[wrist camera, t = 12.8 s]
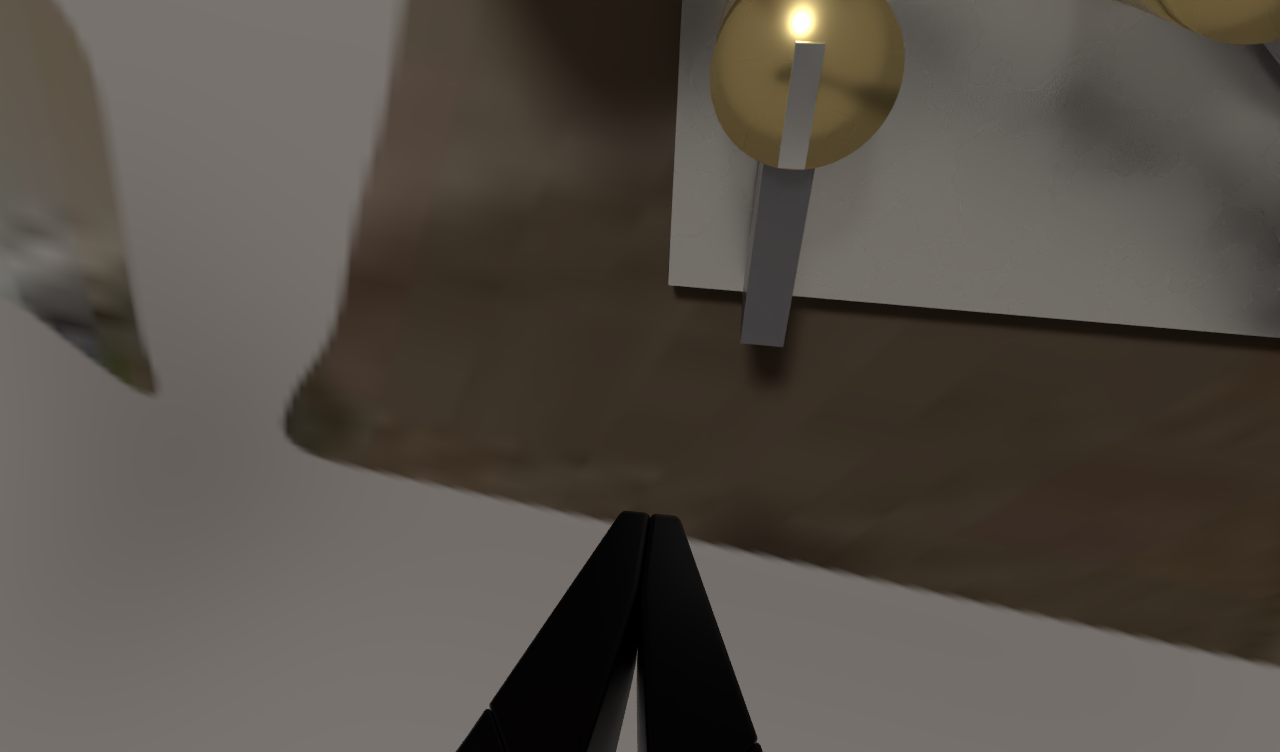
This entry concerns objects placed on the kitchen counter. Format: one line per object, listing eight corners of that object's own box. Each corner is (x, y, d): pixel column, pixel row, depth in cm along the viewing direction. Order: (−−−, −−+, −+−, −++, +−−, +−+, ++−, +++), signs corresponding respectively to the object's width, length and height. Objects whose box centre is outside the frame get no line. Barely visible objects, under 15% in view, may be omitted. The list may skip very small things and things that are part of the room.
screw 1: (725, -55, 16) (717, -35, 13) (899, -49, 16) (930, -27, 13) (698, 284, 22) (689, 350, 19) (825, 295, 21) (835, 364, 18)
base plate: (1385, 330, 21) (1420, 357, 20) (671, 270, 23) (666, 291, 22) (1923, -318, 12) (2040, -336, 11) (701, -313, 14) (696, -327, 13)
